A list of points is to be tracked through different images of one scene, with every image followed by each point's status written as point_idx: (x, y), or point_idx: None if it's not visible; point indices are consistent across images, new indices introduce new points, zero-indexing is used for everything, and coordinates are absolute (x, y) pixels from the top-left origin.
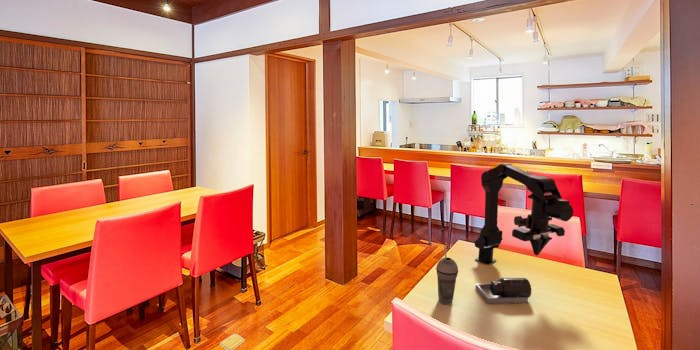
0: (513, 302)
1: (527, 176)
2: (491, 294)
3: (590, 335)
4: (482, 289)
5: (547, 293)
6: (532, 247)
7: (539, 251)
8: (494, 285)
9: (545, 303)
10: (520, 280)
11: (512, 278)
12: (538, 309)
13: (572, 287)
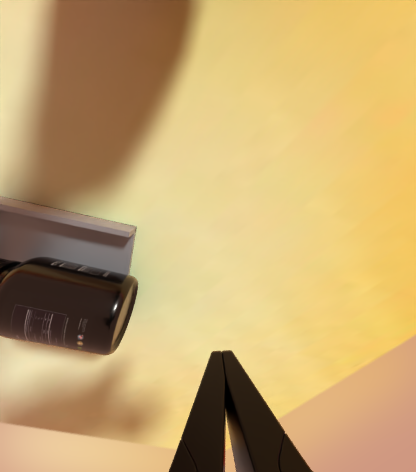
0: None
1: None
2: (25, 251)
3: (169, 429)
4: (6, 212)
5: (228, 286)
6: (189, 419)
7: (228, 426)
8: None
9: (175, 326)
10: (70, 343)
11: (40, 325)
12: (132, 343)
13: (340, 278)
